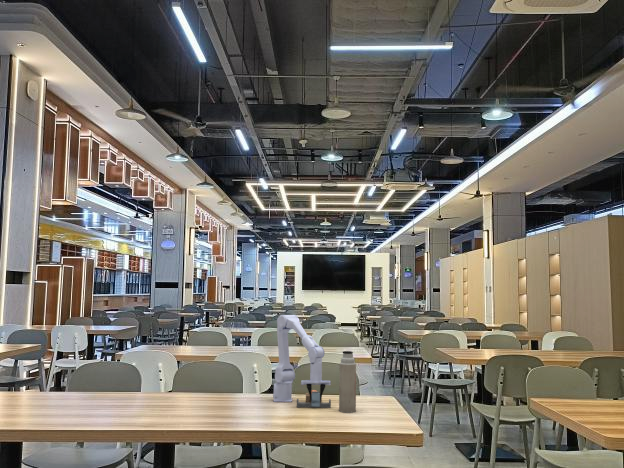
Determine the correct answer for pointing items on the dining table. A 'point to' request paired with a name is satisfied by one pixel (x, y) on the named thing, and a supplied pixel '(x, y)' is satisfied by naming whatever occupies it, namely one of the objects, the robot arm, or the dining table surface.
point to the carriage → (316, 399)
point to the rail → (309, 405)
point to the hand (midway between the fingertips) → (315, 399)
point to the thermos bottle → (347, 383)
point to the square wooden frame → (309, 398)
